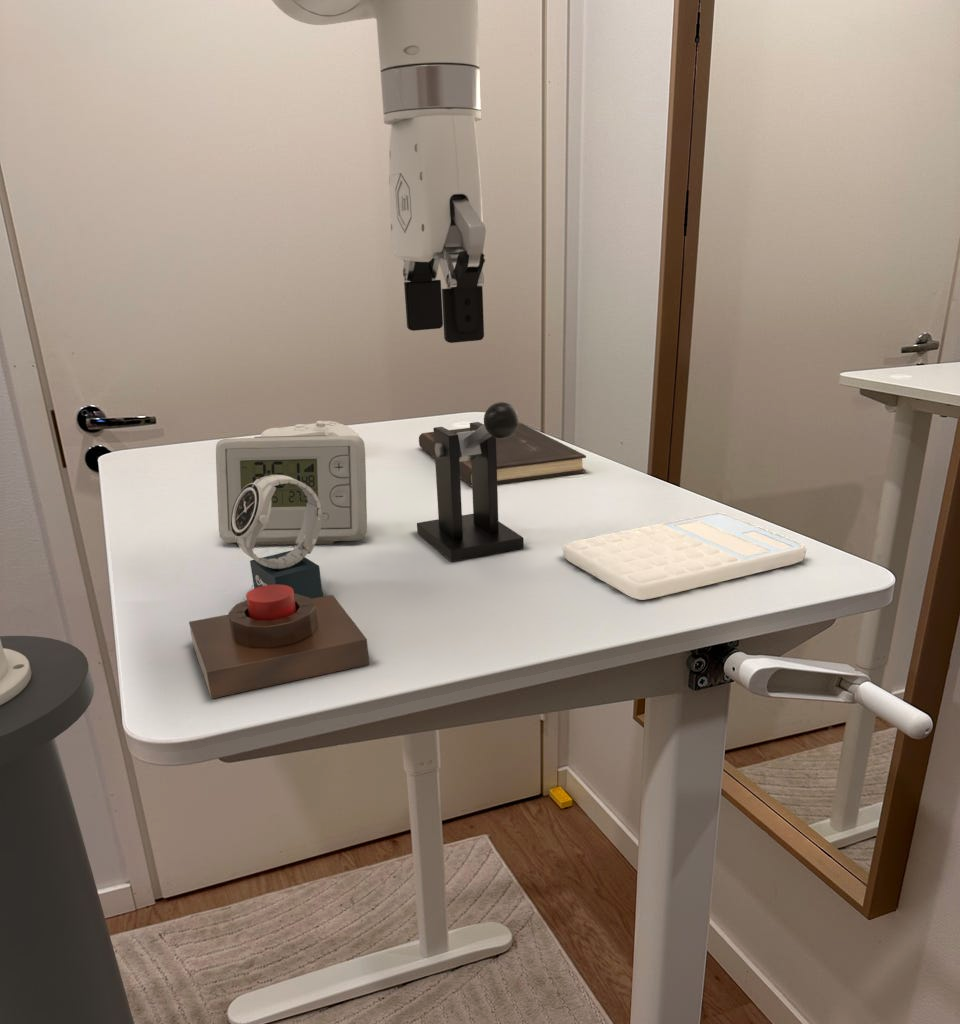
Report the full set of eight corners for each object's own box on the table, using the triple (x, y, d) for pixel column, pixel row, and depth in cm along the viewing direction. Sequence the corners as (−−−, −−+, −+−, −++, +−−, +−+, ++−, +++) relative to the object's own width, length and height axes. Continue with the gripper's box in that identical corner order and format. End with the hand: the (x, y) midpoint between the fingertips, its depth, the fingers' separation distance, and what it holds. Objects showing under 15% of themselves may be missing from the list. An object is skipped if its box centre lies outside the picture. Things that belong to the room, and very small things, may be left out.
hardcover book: (520, 437, 138) (519, 422, 137) (585, 472, 118) (586, 455, 117) (419, 449, 133) (418, 433, 132) (469, 488, 113) (469, 469, 112)
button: (254, 626, 68) (250, 605, 68) (245, 609, 71) (242, 589, 71) (300, 617, 70) (298, 596, 69) (290, 601, 73) (287, 581, 72)
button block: (211, 699, 66) (202, 649, 64) (193, 645, 74) (184, 601, 72) (369, 664, 70) (364, 617, 68) (335, 617, 78) (330, 574, 77)
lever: (527, 431, 81) (520, 395, 81) (495, 435, 80) (487, 399, 80) (477, 463, 93) (471, 432, 93) (449, 467, 92) (442, 436, 92)
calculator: (558, 558, 89) (558, 540, 89) (719, 524, 97) (720, 507, 96) (637, 604, 79) (637, 584, 78) (810, 561, 86) (813, 542, 85)
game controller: (265, 448, 123) (247, 419, 130) (268, 477, 126) (250, 448, 133) (365, 434, 128) (343, 408, 136) (366, 462, 131) (344, 435, 138)
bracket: (523, 548, 93) (522, 433, 87) (451, 561, 90) (445, 443, 85) (484, 521, 101) (481, 415, 96) (417, 533, 98) (409, 424, 93)
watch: (234, 597, 83) (215, 480, 79) (313, 576, 87) (300, 464, 83) (259, 616, 79) (240, 494, 74) (340, 593, 83) (328, 476, 79)
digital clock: (212, 546, 97) (195, 447, 92) (251, 520, 104) (238, 427, 100) (353, 554, 93) (343, 451, 88) (383, 527, 100) (375, 431, 96)
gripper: (355, 112, 75) (373, 328, 82) (420, 84, 60) (435, 350, 68) (440, 111, 77) (450, 322, 85) (523, 85, 63) (526, 342, 70)
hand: (443, 334), depth 76 cm, fingers open, 9 cm apart
